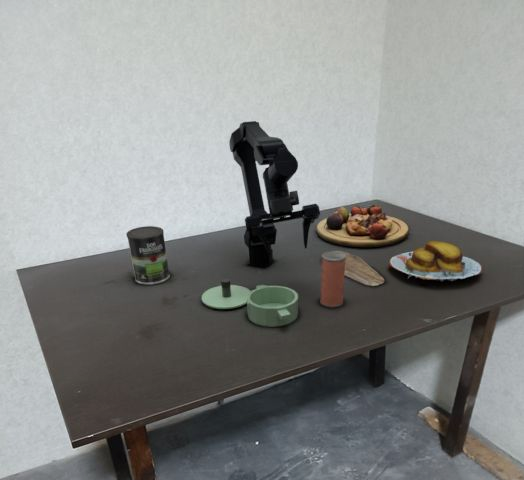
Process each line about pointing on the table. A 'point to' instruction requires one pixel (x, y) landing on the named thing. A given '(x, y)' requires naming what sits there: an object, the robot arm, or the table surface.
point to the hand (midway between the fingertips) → (288, 251)
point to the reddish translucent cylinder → (332, 279)
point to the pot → (272, 305)
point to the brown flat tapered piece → (361, 271)
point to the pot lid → (225, 296)
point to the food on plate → (436, 262)
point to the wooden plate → (362, 228)
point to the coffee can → (148, 255)
